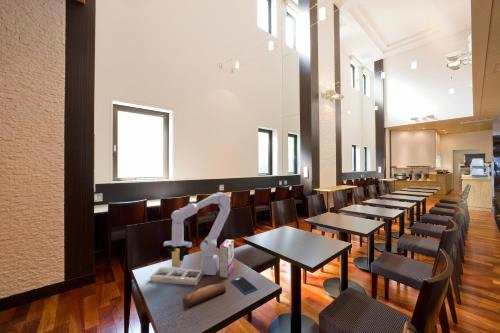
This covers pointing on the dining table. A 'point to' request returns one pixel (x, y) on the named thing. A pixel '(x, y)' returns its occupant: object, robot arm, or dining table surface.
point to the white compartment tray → (176, 279)
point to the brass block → (176, 258)
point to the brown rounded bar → (203, 294)
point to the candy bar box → (226, 258)
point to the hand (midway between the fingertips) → (177, 260)
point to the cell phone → (244, 285)
